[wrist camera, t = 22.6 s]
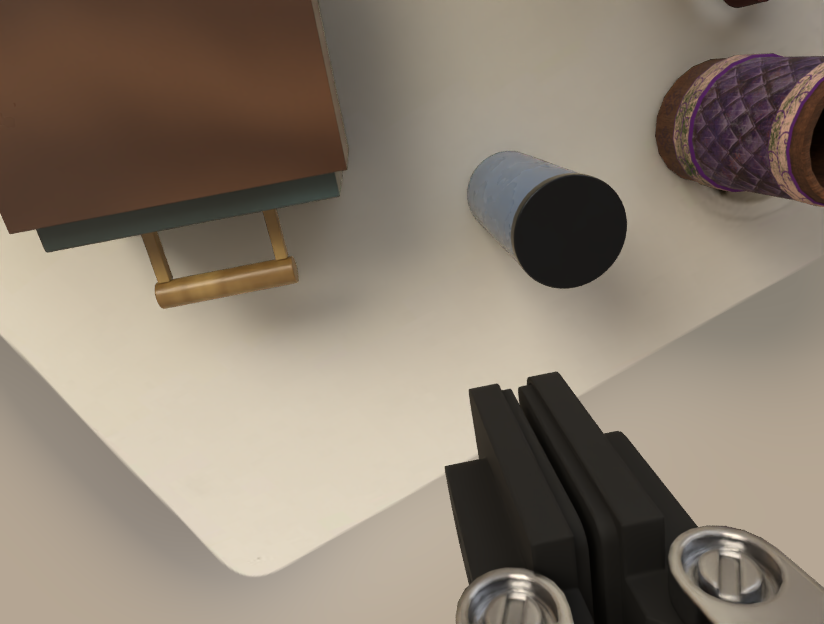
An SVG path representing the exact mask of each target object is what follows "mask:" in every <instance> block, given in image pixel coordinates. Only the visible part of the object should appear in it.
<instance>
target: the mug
mask: <svg viewBox="0 0 824 624" xmlns="http://www.w3.org/2000/svg"><path fill="white" fill-rule="evenodd" d="M655 137H656V141H657V146H658V150H659V154H660V156H661V157H662V159H663V161H664V162H665V164H666V165H667V167H668V168H669V169H670V170H672V171H673V172H674V173H676V174H677V175H678V176H680V177H681V178H684V179H688V180H692V181H695V182H698V183H699V184H701V185H705V186H708V187H712V188H716V189H720V190H725V191H730V192H741V191H748V192H754V193H759V194H765V195H770V196H775V197H781V198H786V199H792V200H796V201H800V202H803V203H807V204H810V205H814V206H820V207H824V56H811V57H783V56H780V55H777V54H773V53H770V54H747V55H734V56H732V57H729V58H722V59H710V60H708V61H706V62H703V63H701V64H698V65H696V66H694V67H692V68H691V69H690V70H688V71H687V72H686V73H685V74H683V75H682V76H681V77H680V78H678V79H677V80H676V82H675V83H674V84H673V86H672V87H671V89H670V90H669V91H668V93H667V94H666V96H665V97H664V99H663V102H662V105H661V107H660V110H659V113H658V115H657V123H656V134H655Z"/></svg>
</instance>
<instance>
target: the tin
mask: <svg viewBox="0 0 824 624" xmlns="http://www.w3.org/2000/svg"><path fill="white" fill-rule="evenodd" d="M467 197H468V204H469V207H470V210H471V212H472V214H473V216H474V217H475V219H476V220H477V221H478V222H479V223H480V224H481V225H482V226H483V227H484V228H485V229H486V230H487V231H488V232H489V233H490V234H491V235H492V236H493V237H494V238H495V239H496V240H497V241H498V242H499V244H500V245H501V246H502V247H503V248H504V249H505V250H506V251H507V252H508V253H509V254H510V255H511V256H512V257H513V258H514V259H515V260H516V261H517V262H518V263H519V265H520V266H521V268H522V269H523V270H524V271H525V272H526V273H527V274H528V275H529V276H530V277H531V278H533V279H534V280H535V281H537V282H539V283H541V284H543V285H545V286H549V287H552V288H560V289H567V288H575V287H579V286H582V285H585V284H587V283H590V282H591V281H593V280H595V279H597V278H598V277H600V276H601V275H602V274H603V273H605V272H606V271H607V270H608V269H609V268H610V267H611V265H612V264H613V263H614V262H615V260H616V259H617V257H618V255H619V254H620V252H621V249H622V247H623V245H624V241H625V238H626V231H627V219H626V213H625V209H624V206H623V204H622V201H621V199H620V198H619V196H618V195H617V193H616V192H615V191H614V190H613V189H612V188H611V187H610V186H609V185H608V184H606V183H605V182H603V181H602V180H600V179H597V178H595V177H592V176H589V175H586V174H580V173H577V172H574V171H571V170H568V169H566V168H563V167H560V166H557V165H554V164H551V163H549V162H546V161H543V160H540V159H537V158H534V157H531V156H529V155H526V154H523V153H520V152H515V151H505V152H500V153H496V154H494V155H492V156H490V157H488V158H487V159H485V160H484V161H483V162H482V163H481V164H480V165H479V166H478V167H477V168H476V169H475V171H474V173H473V174H472V176H471V178H470V181H469V185H468V192H467Z"/></svg>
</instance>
